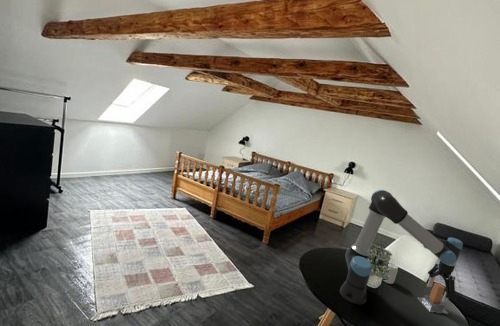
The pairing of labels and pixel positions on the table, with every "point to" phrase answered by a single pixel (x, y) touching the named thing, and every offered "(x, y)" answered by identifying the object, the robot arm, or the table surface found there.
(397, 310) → the table surface
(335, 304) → the table surface
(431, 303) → the grey square socket
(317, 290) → the table surface
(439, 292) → the orange square peg
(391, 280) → the beverage can
